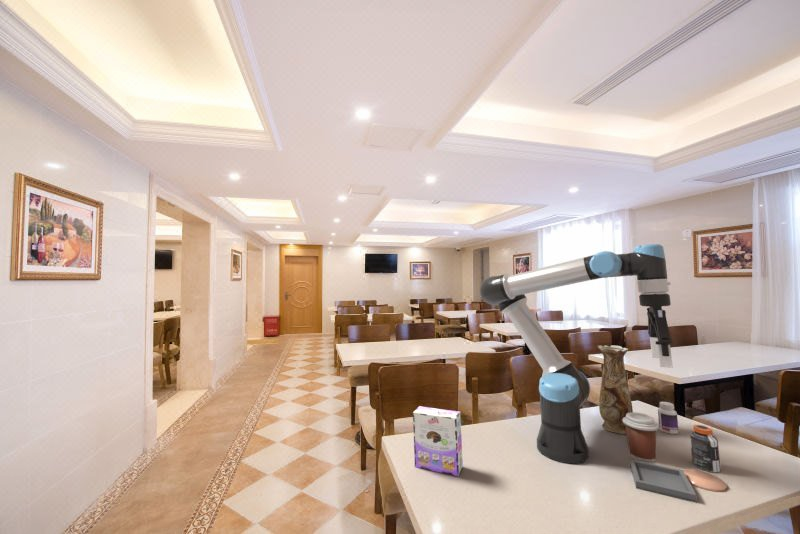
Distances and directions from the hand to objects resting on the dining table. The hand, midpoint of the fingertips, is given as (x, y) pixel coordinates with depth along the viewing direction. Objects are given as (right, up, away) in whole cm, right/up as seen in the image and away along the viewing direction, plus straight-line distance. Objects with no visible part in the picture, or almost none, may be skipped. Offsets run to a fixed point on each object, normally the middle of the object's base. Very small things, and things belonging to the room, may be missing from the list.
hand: (661, 362), depth 97 cm
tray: (-10, -29, -12) cm, 33 cm away
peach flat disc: (+1, -29, -12) cm, 31 cm away
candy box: (-69, -31, -2) cm, 76 cm away
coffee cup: (-5, -30, +1) cm, 30 cm away
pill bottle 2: (+8, -29, -6) cm, 31 cm away
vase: (0, -31, +20) cm, 37 cm away
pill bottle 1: (+17, -30, +17) cm, 39 cm away
